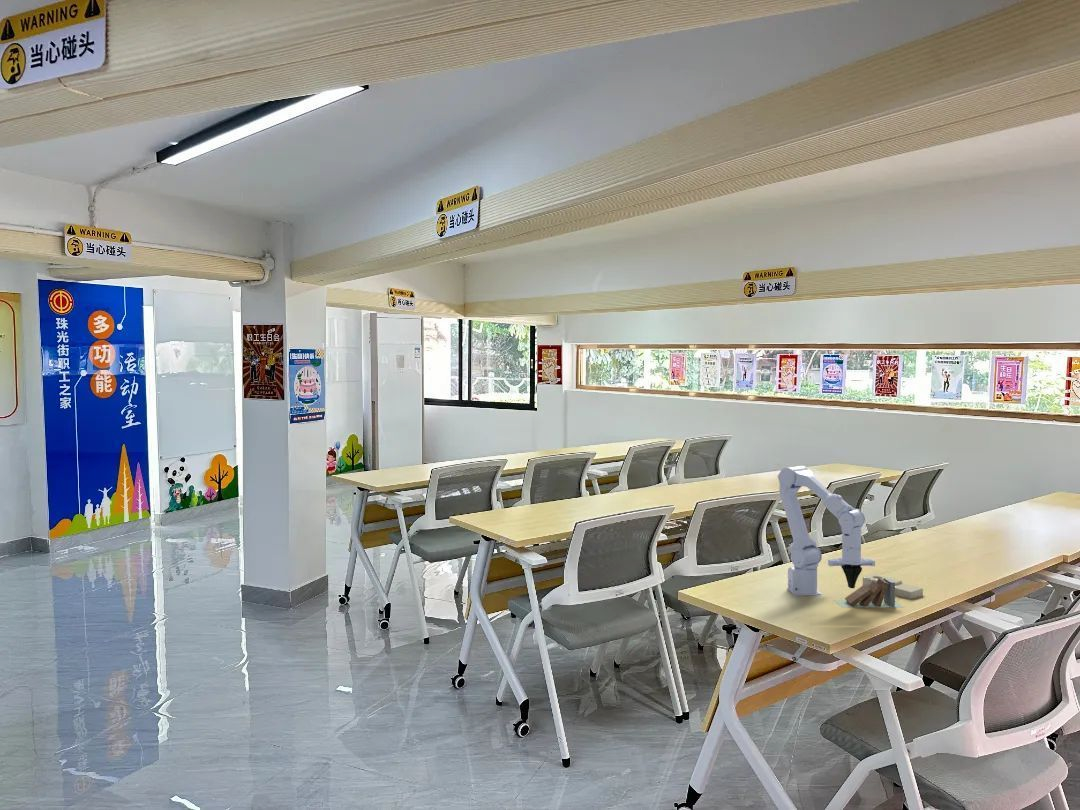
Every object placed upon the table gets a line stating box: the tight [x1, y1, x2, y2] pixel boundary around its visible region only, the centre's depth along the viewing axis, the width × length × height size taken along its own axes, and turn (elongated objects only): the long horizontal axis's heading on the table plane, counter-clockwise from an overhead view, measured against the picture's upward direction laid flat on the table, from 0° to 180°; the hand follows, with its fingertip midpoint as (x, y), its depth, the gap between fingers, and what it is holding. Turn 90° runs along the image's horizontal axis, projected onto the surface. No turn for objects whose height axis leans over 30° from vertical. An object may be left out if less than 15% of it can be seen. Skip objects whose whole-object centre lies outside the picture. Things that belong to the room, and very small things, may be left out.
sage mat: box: [833, 599, 904, 608], centre depth 241 cm, size 20×7×1 cm, turn 88°
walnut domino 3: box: [872, 578, 889, 608], centre depth 241 cm, size 1×5×8 cm, turn 178°
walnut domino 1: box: [844, 584, 873, 606], centre depth 241 cm, size 1×5×8 cm
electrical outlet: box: [862, 573, 924, 600], centre depth 255 cm, size 7×4×18 cm
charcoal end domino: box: [883, 577, 896, 608], centre depth 240 cm, size 1×5×8 cm, turn 178°
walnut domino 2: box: [860, 581, 882, 606], centre depth 241 cm, size 1×5×8 cm
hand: (851, 587), depth 241 cm, fingers closed
